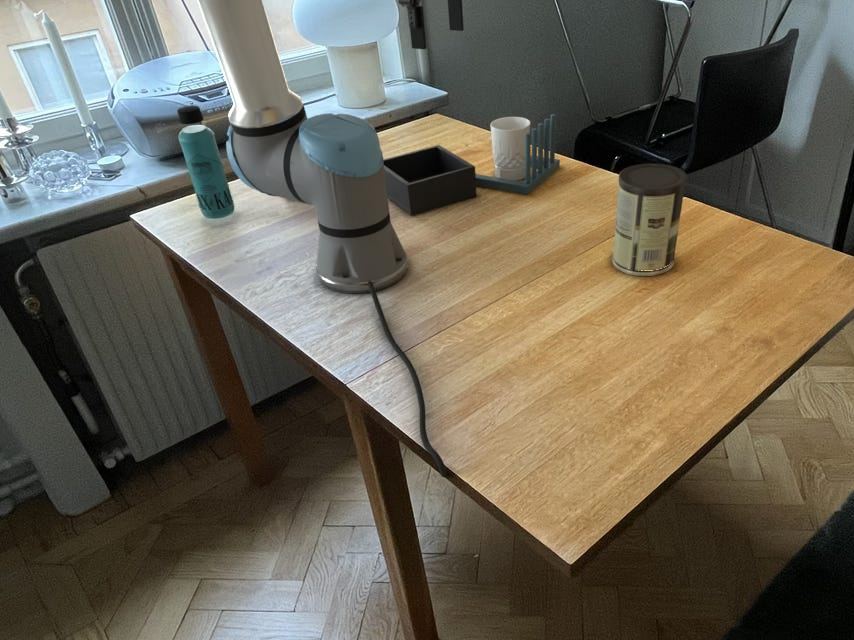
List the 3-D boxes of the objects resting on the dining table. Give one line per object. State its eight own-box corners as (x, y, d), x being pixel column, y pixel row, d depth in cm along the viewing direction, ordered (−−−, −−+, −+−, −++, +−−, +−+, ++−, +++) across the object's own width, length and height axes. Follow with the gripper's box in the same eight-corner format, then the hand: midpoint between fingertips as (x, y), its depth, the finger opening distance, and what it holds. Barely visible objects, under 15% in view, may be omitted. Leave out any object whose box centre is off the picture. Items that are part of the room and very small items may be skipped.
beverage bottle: (201, 217, 142) (165, 105, 128) (235, 209, 144) (202, 99, 129) (207, 229, 138) (170, 116, 123) (242, 222, 139) (209, 109, 125)
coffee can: (646, 242, 126) (657, 157, 116) (686, 265, 119) (701, 178, 109) (598, 258, 122) (605, 172, 112) (637, 283, 116) (647, 194, 106)
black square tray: (476, 196, 143) (475, 166, 138) (411, 216, 138) (407, 185, 134) (441, 173, 152) (438, 144, 147) (378, 191, 147) (374, 161, 143)
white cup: (531, 167, 152) (531, 116, 144) (529, 182, 146) (529, 130, 139) (493, 168, 152) (492, 116, 145) (490, 183, 147) (488, 130, 140)
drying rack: (559, 167, 151) (561, 112, 143) (527, 195, 142) (527, 137, 134) (504, 158, 156) (503, 105, 148) (470, 184, 147) (467, 129, 139)
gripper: (445, -117, 130) (454, 22, 145) (365, -97, 115) (385, 55, 130) (481, -118, 127) (487, 24, 143) (404, -98, 113) (420, 58, 128)
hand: (438, 39), depth 137 cm, fingers open, 13 cm apart
